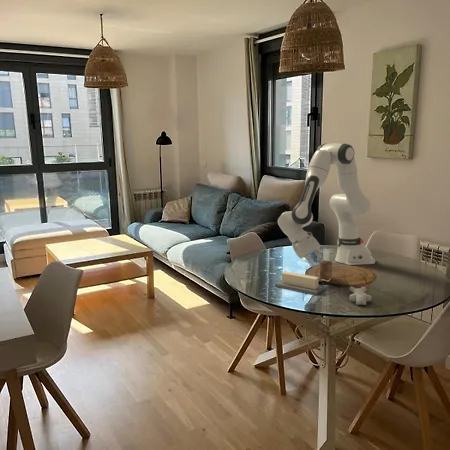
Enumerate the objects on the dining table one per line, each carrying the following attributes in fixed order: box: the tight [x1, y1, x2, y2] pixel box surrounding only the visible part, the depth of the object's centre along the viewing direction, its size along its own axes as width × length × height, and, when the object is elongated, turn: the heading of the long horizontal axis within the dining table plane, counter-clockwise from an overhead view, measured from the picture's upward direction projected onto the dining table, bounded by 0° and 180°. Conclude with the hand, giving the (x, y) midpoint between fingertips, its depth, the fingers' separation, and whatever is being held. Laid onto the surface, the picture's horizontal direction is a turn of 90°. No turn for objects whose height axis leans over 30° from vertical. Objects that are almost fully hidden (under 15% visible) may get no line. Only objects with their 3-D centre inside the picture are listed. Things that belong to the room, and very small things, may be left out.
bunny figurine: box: [348, 286, 372, 306], centre depth 201 cm, size 10×5×15 cm
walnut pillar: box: [319, 259, 333, 280], centre depth 227 cm, size 4×4×10 cm
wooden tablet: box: [352, 283, 370, 293], centre depth 223 cm, size 26×2×10 cm
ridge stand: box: [274, 270, 326, 296], centre depth 218 cm, size 22×10×6 cm, turn 54°
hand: (316, 259), depth 228 cm, fingers open, 8 cm apart
